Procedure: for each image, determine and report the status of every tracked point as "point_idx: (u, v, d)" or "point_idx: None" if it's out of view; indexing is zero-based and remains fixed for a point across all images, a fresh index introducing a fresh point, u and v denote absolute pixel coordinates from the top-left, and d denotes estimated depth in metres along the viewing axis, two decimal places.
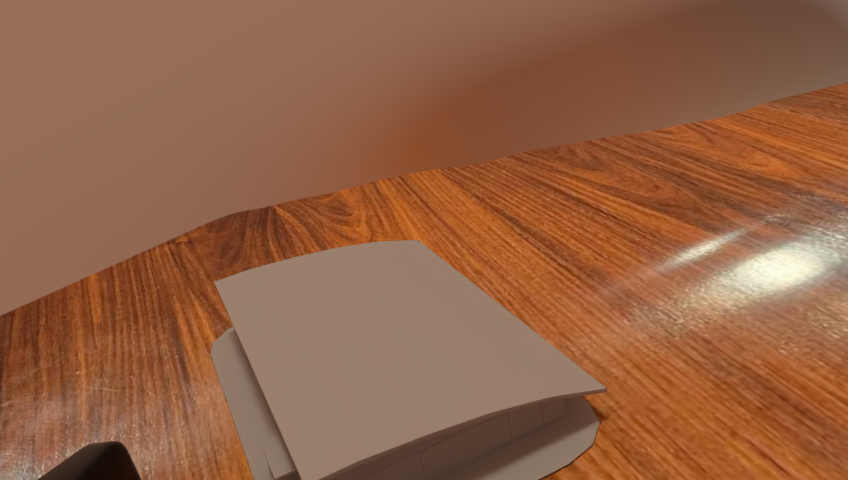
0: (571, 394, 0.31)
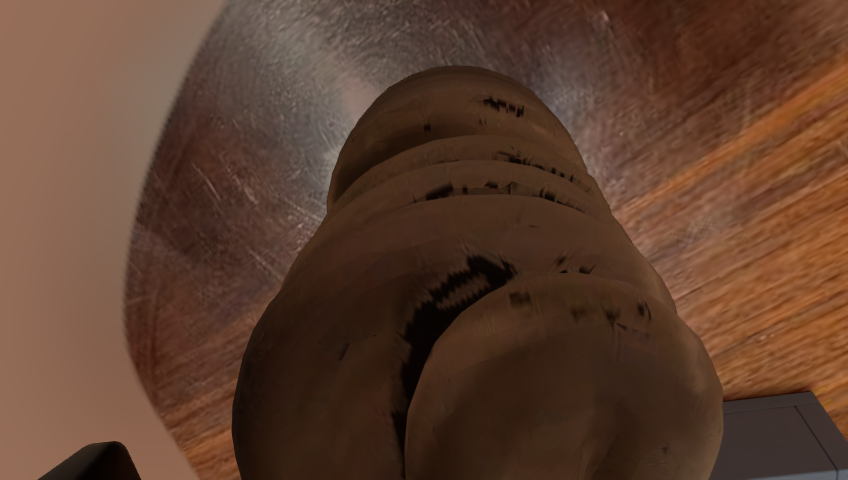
0: None
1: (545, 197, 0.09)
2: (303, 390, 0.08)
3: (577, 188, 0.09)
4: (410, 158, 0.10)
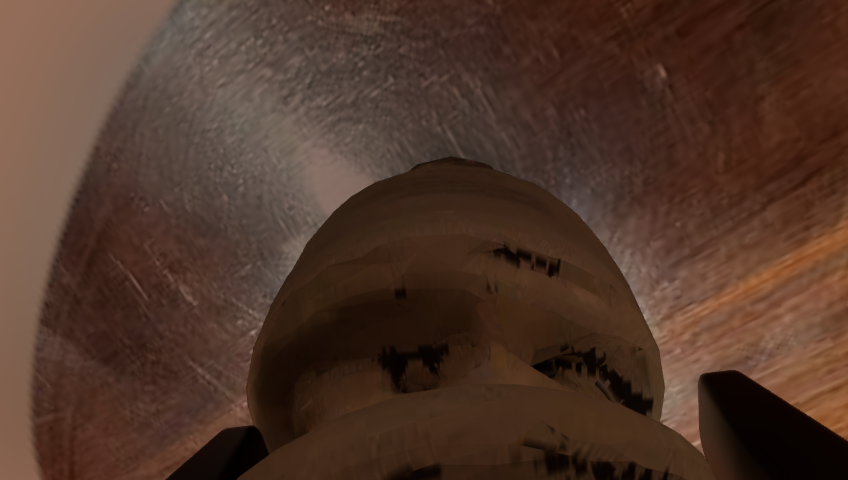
0: None
1: None
2: None
3: None
4: (343, 455, 0.05)
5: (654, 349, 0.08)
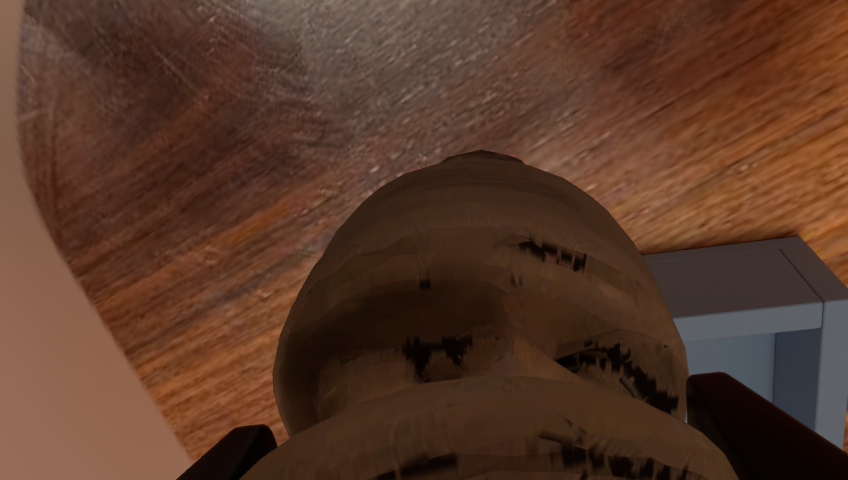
0: None
1: None
2: None
3: None
4: (361, 442, 0.05)
5: (680, 347, 0.08)
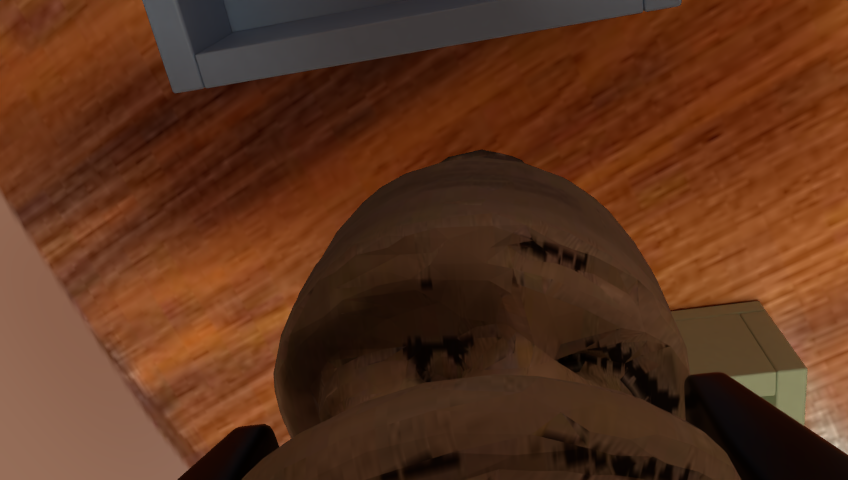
0: None
1: None
2: None
3: None
4: (364, 441, 0.05)
5: (681, 346, 0.08)
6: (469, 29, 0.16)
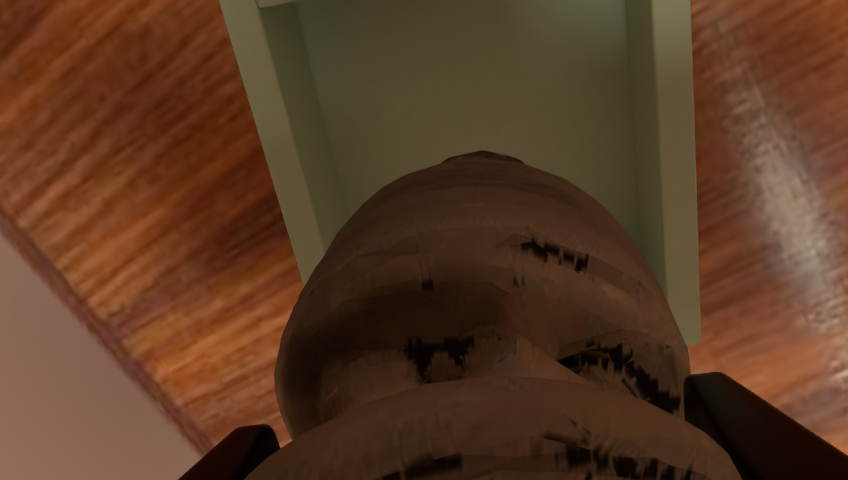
0: None
1: None
2: None
3: None
4: (365, 442, 0.05)
5: (682, 347, 0.08)
6: None
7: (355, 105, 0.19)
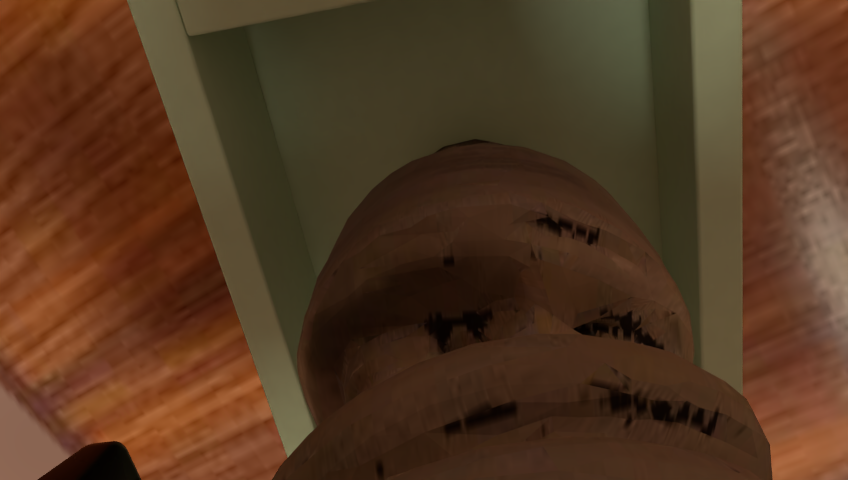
0: None
1: None
2: None
3: None
4: (426, 395, 0.05)
5: (686, 313, 0.09)
6: None
7: (321, 146, 0.16)
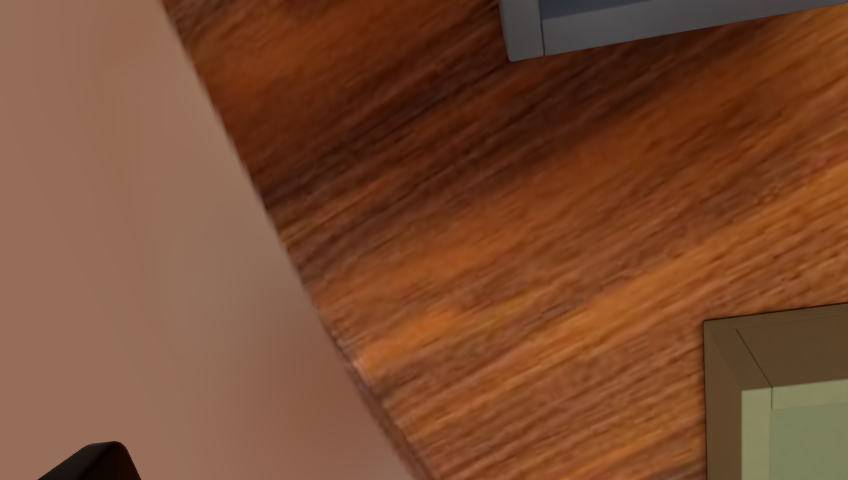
0: None
1: None
2: None
3: None
4: None
5: None
6: None
7: None
